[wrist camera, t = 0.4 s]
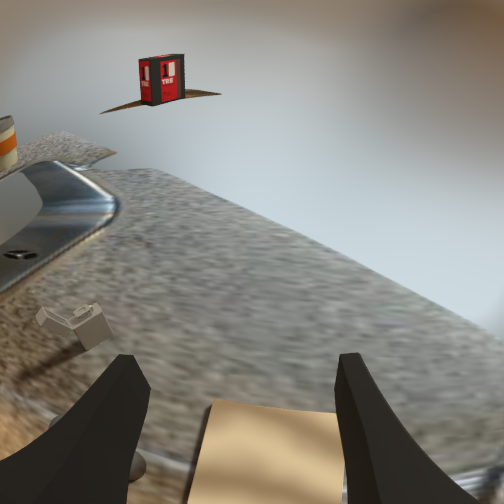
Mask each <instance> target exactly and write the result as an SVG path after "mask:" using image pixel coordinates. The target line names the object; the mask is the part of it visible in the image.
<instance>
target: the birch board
mask: <svg viewBox="0 0 504 504" xmlns="http://www.w3.org/2000/svg"><path fill="white" fill-rule="evenodd" d="M343 476H344V455H343V449H342V444H341V438H340V432H339V427H338V421H337V416H336V414H335V413H321V412H309V411H299V410H289V409H281V408H273V407H265V406H258V405H252V404H245V403H239V402H233V401H228V400H222V399H217V398H214V399H213V403H212V407H211V411H210V415H209V419H208V423H207V427H206V431H205V435H204V439H203V443H202V447H201V451H200V455H199V459H198V463H197V467H196V471H195V475H194V479H193V483H192V487H191V491H190V495H189V499H188V503H187V504H341V499H342V488H343Z"/></svg>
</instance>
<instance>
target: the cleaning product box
mask: <svg viewBox="0 0 504 504" xmlns="http://www.w3.org/2000/svg"><path fill="white" fill-rule="evenodd" d="M139 75H140V90H141V102H142V104H143V105H148V106H157V105H160V104H164V103H168V102H171V101H175V100H179V99H183V98H185V76H184V75H185V73H184V54H168V55H161V56H156V57H149V58H144V59H139Z"/></svg>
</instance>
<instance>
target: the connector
mask: <svg viewBox="0 0 504 504" xmlns="http://www.w3.org/2000/svg"><path fill="white" fill-rule="evenodd" d="M63 416H64V415H59V416H57V417H55V418H54V419H53V420H52V421H51V423H50V425H49V428H51V427H52V426H53V425H54V424H55V423H56V422H57V421H58V420H60V419H61V418H62V417H63ZM145 471H146V463H145V460H144V458H143V457H142V456H141V455H140V454H139V453H138V452H136V451H135V453H134V457H133V461H132V465H131V470H130V476H129V480H131V481H132V480H137V479H139V478H141V477H142V476H143V475H144V473H145Z"/></svg>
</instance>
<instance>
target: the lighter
mask: <svg viewBox="0 0 504 504" xmlns="http://www.w3.org/2000/svg"><path fill="white" fill-rule="evenodd" d="M74 314H75V316H73V317H72V318H70V319H69V320H66V319H65V318H63V317H61V316H59V315H57V314H55V313H53V312H51V311H50V310H48V309H46V308H44V307H41V309H40V310H39V312H38V313H37V314H36V319H37V321H38V323H39V325H40V326H42V327H44V328H46V329H48V330H50V331H52V332H54V333H56V334H58V335H61V336H63V337H65V338H66V337H67V336H68V334H69V333H70V332H71V330H72V329H73V331H74V332H75V334H76V336H77V337H78V339H79V340H80V342H81V344H82V345H83V347H84V348H85V350H86V351H88V350H90V349H91V348H93V347H94V346H96V345H97V344H99V343H100V342H102V341H103V340H105V339H106V338H108V337H109V336H111V335H113V332H112V330H111V328H110V326H109V323H108V321H107V319H106V317H105V315H104V313H103V311H102V309H101V308H100V306H99V305H98V304H97V303H94V304H93V305H87V304H85V305H83V306H81V307H80V308H78V309H77V310H75V311H74Z"/></svg>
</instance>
